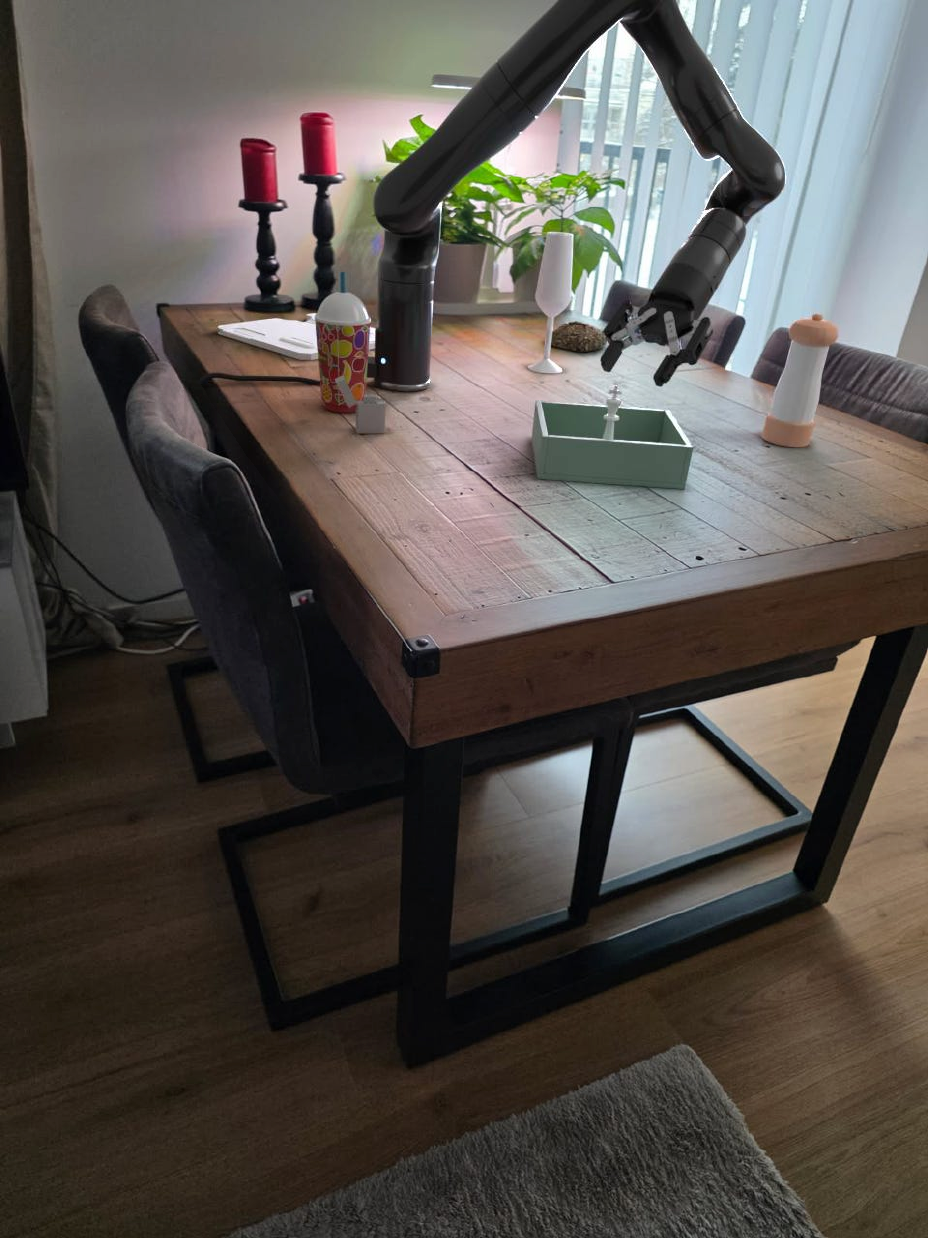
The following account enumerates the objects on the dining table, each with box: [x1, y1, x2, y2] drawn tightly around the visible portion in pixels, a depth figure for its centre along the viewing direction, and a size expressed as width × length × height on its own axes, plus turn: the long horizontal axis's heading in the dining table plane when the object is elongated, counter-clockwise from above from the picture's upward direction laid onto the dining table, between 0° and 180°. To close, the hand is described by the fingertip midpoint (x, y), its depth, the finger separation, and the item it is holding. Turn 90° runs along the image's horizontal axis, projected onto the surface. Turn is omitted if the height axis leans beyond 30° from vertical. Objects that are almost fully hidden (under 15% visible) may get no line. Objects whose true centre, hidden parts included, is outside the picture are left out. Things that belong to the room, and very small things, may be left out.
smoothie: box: [315, 271, 372, 414], centre depth 129 cm, size 8×8×20 cm
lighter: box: [335, 375, 387, 435], centre depth 122 cm, size 7×2×8 cm, turn 104°
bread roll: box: [551, 320, 608, 353], centre depth 184 cm, size 13×12×5 cm
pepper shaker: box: [761, 313, 839, 448], centre depth 130 cm, size 7×7×19 cm
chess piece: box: [603, 384, 623, 440], centre depth 117 cm, size 5×5×10 cm
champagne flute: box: [527, 231, 574, 374], centre depth 159 cm, size 7×7×24 cm
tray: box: [217, 312, 376, 361], centre depth 174 cm, size 28×28×2 cm
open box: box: [531, 400, 694, 490], centre depth 118 cm, size 20×17×6 cm
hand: (630, 375), depth 116 cm, fingers open, 8 cm apart
